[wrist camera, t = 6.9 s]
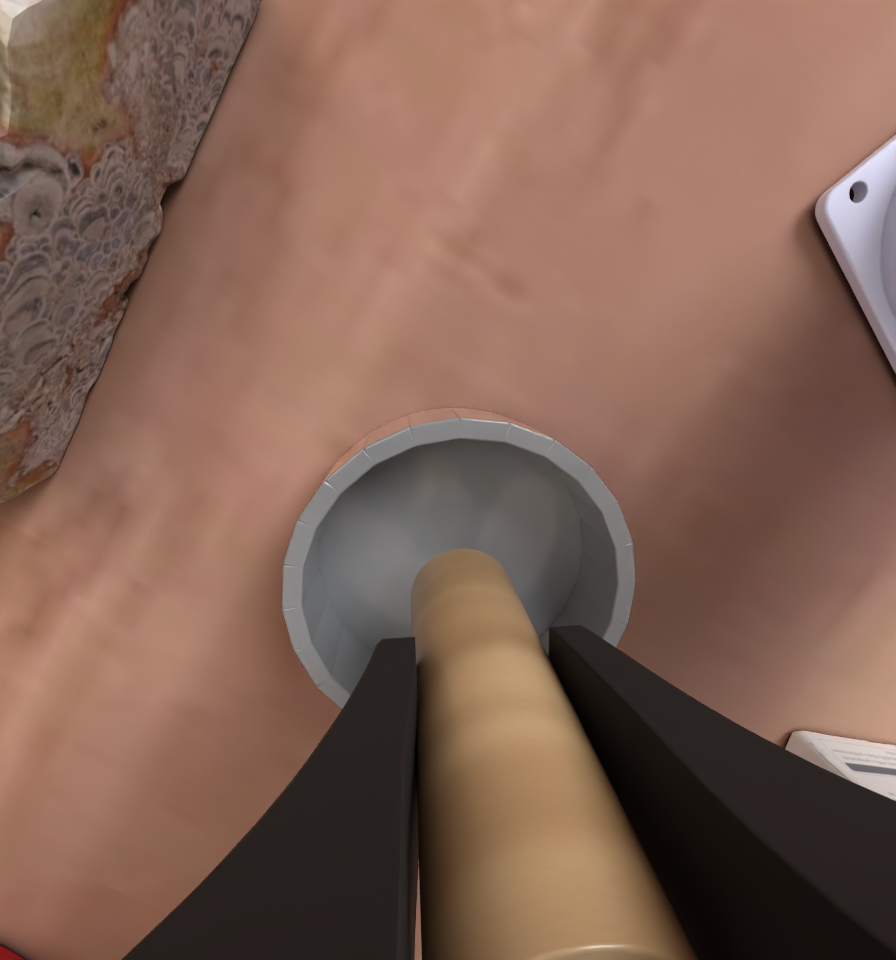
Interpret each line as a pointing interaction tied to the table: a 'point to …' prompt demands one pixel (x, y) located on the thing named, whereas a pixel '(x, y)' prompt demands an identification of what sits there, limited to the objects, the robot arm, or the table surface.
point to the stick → (516, 793)
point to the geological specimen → (89, 188)
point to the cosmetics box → (849, 759)
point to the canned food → (8, 954)
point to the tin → (450, 536)
